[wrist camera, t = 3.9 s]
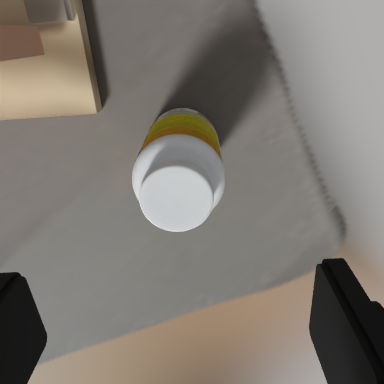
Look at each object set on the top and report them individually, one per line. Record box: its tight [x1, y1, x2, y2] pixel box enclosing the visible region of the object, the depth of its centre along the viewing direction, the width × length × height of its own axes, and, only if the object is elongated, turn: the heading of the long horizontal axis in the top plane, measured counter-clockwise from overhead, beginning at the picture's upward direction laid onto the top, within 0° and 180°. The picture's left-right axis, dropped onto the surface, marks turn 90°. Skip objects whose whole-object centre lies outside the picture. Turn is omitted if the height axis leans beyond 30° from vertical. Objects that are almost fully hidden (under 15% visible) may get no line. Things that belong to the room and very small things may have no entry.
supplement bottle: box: [132, 108, 226, 232], centre depth 22 cm, size 6×6×10 cm
